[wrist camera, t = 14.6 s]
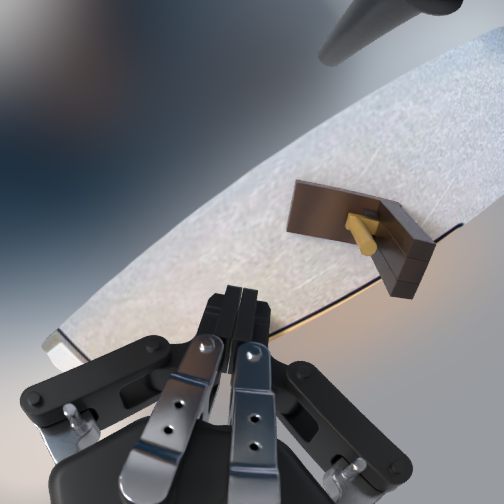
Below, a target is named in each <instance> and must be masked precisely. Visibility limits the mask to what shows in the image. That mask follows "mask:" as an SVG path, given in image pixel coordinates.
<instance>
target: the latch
mask: <svg viewBox="0 0 504 504" xmlns="http://www.w3.org/2000/svg"><path fill="white" fill-rule="evenodd" d="M401 207H402V206H401V205H400V204H399V203H398V202H395V201H391V200H387V199H383V198H379V197H375V196H371V195H366V194H362V193H358V192H354V191H349V190H345V189H340V188H335V187H331V186H326V185H321V184H316V183H311V182H306V181H301V180H296V182H295V187H294V192H293V197H292V202H291V207H290V212H289V217H288V222H287V227H286V229H287V232H291V233H297V234H302V235H308V236H314V237H319V238H325V239H330V240H335V241H341V242H346V243H351V244H357V243H356V241H355V239H354V237H353V235H352V233H351V231H350V230H347V229H346V227H345V225H346V221H347V217H348V214H349V213H353V214H358V215H362V216H367V217H371V218H376V219H380V221H379V224H378V227H377V231H376V234H375V235H372V234H371V236H372V237H373V239H374V241H375V242H376V244H377V250H376V252H375V253H374V254H373V255H371V258H372V260H373V262H374V264H375V266H376V268H377V270H378V272H379V274H380V276H381V278H382V280H383V282H384V284H385V286H386V288H387V290H388V293H389V295H390V296H391V297H399V298H406V299H413V297H414V295H415V293H416V291H417V288H418V286H419V284H420V282H421V279H422V277H423V275H424V272H425V270H426V268H427V266H428V263H429V261H430V258H431V256H432V254H433V251H434V248H435V246H436V243H435V242H434V241H433V240H432V239H431V238H430V237H429V236H428V235H427V234H426V233H425V232H424V230H423V229H422V228H421V227H420V226H419V225H418V224H417V223H416V222H415V221H414V220H413V219H412V218H411V217H410V216H409V215H408V214H407V213H406V212H405V211H404V210H403V209H402V208H401Z"/></svg>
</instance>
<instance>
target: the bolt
mask: <svg viewBox="0 0 504 504" xmlns="http://www.w3.org/2000/svg"><path fill="white" fill-rule="evenodd" d="M379 221H380V219H376V218H371V217H367V216H362V215H358V214H353V213H349V214H348V217H347V221H346V225H345V227H346V229H347V230H350V231H351V233H352V235H353V237H354V239H355V241H356V243H357V245H358V247H359V249H360V252H361V253H362V254H363V255H365V256H371V255H373V254H374V253H375V252H376V250H377V244H376V242H375V241H374V239H373V237H372V236H371V234H372V235H375V234H376V231H377V227H378V224H379Z"/></svg>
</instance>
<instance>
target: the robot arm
mask: <svg viewBox="0 0 504 504" xmlns="http://www.w3.org/2000/svg"><path fill="white" fill-rule="evenodd" d="M241 293H242V297H241ZM257 294H258V290H254V289H248V288H243V292H242V287H237V286H231V285H227V289H226V292H225V295H223V294H218V293H215V294H214V295H212V296H211V297H210V298H209V300H208V302H207V305H206V308H205V311H204V314H203V316H202V319H201V322H200V325H199V328H198V331H197V334H196V336H195V337H194V338H193V339H192V340H190V341H188V342H186V343H182V344H169V342H168V341H167V340H166V339H165V338H163V337H161V336H157V335H150V336H146V337H144V338H141V339H139V340H137V341H135V342H133V343H130V344H128V345H126V346H124V347H121V348H119V349H117V350H115V351H112V352H110V353H108V354H106V355H103V356H101V357H99V358H97V359H94V360H92V361H90V362H87V363H85V364H83V365H80V366H78V367H76V368H73V369H71V370H69V371H66V372H64V373H62V374H59V375H57V376H55V377H52V378H50V379H47V380H45V381H43V382H40V383H38V384H35V385H33V386H30V387H28V388H27V389H25V390H24V391H23V393H22V395H21V397H20V405H21V407H22V409H23V411H24V412H25V413H26V415H27V416H28V417H29V418H30V420H31V421H32V422H33V423H34V424H35V426H36V427H37V428H38V429H39V431H40V433H41V436H42V438H43V440H44V442H45V444H46V447H47V449H48V451H49V453H50V455H51V457H52V459H53V460H54V462H55V467H54V468H53V469H52V471H51V474H50V477H49V485H48V486H49V493H50V500H51V504H375V503H376V502H377V501H378V500H379V499H380V498H381V497H383V496H385V495H386V494H388V493H390V492H391V491H393V490H395V489H396V488H397V487H398V486H400V485H401V484H403V483H404V482H406V481H407V480H408V479H409V478H410V477H411V475H412V471H413V466H412V462H411V460H410V459H409V458H408V457H407V456H406V455H405V454H404V453H403V452H402V451H401V450H400V449H399V448H398V447H397V446H396V445H394V444H393V443H392V442H391V441H390V440H389V439H388V438H387V437H386V436H385V435H384V434H383V433H382V432H381V431H380V430H379V429H378V428H377V427H375V426H374V424H372V423H371V422H370V421H369V420H368V419H367V418H366V417H365V416H364V415H363V414H362V413H361V412H360V411H359V410H358V409H357V408H356V407H355V406H354V405H353V404H352V403H351V402H350V401H349V400H348V399H347V398H346V397H345V396H344V395H343V394H342V393H341V392H340V391H339V390H338V389H337V388H336V387H335V386H334V385H333V384H332V383H331V382H330V381H329V380H328V379H327V378H326V377H325V376H324V375H323V374H322V373H321V372H320V371H319V370H318V369H317V368H316V367H315V366H314V365H312V364H311V363H308V362H305V361H296V362H293V363H291V364H290V365H286V364H283V363H281V362H279V361H277V360H276V359H274V358H273V357H272V356H271V354H270V351H269V350H268V341H269V328H270V314H271V309H270V307H269V305H268V303H267V302H263V301H257ZM240 300H241V302H240ZM230 353H231V355H230ZM229 358H230V362H229ZM228 363H229V369H228V374H232V375H231V383H230V384H231V393H230V405H229V417H228V425H219V426H218V425H212V424H210V423H208V420H209V417H210V414H211V410H212V408H213V404H214V401H215V398H216V395H217V392H218V389H219V385H220V377H221V373H227V367H228ZM155 402H157V403H156V405H155V407H154V409H153V411H152V413H151V416H147V417H143V418H141V419H138V420H136V421H134V422H133V423H131V424H129V425H127V426H126V427H124V428H122V429H120V430H118V431H117V432H115V433H113V434H111V435H109V436H108V437H106V438H104V439H102V440H100V441H98V440H99V438H100V431H101V430H103V429H105V428H107V427H109V426H111V425H113V424H115V423H117V422H118V421H121V420H123V419H125V418H127V417H129V416H130V415H133V414H135V413H136V412H138V411H140V410H142V409H144V408H145V407H148V406H150V405H151V404H153V403H155ZM276 416H277V417H278V418H279V420H280V421H281V422H282V423H283V425H284V426H285V427H286V428H287V429H288V431H289V432H290V433H291V434H292V435H293V436H294V438H295V439H296V440H297V441H298V442H299V444H300V445H301V446H302V447H303V448H304V449H305V450H306V452H307V453H308V454H309V455H310V456H311V457H312V458H313V459H314V461H315V462H316V463H317V464H318V465H319V466H320V467H321V468H322V469H323V470H324V472H325V474H324V476H323V485H324V487H325V489H326V491H327V492H328V494H327V492H326V491H325V490H324V489H323V488H322V487H321V485H320V484H319V483H318V482H317V481H316V479H314V477H313V476H312V475H311V473H310V472H309V471H308V470H307V469H306V467H305V466H304V465H303V464H302V462H301V461H300V460H299V459H298V457H297V456H296V455H295V454H294V452H293V451H292V450H291V449H290V448H289V447H288V446H287V445H286V444H285V443H283V442H281V441H280V440H278V439H277V426H276ZM97 441H98V442H97Z"/></svg>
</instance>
